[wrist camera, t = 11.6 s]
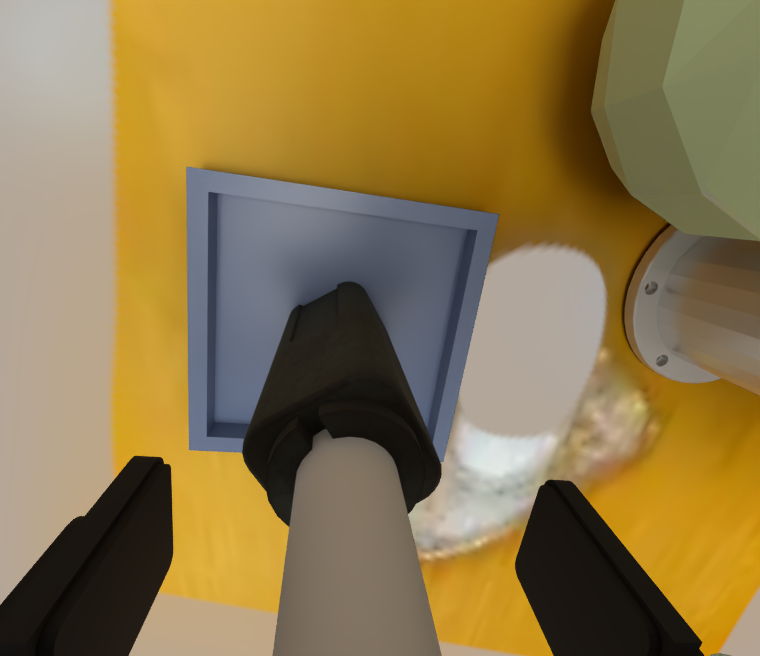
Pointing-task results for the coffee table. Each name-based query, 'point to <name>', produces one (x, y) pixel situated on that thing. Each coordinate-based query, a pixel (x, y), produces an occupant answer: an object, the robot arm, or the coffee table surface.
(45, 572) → the robot arm
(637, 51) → the decorative sphere
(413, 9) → the coffee table surface
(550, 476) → the coffee table surface
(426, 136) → the coffee table surface
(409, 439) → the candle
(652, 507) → the coffee table surface
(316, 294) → the slate blue tray
